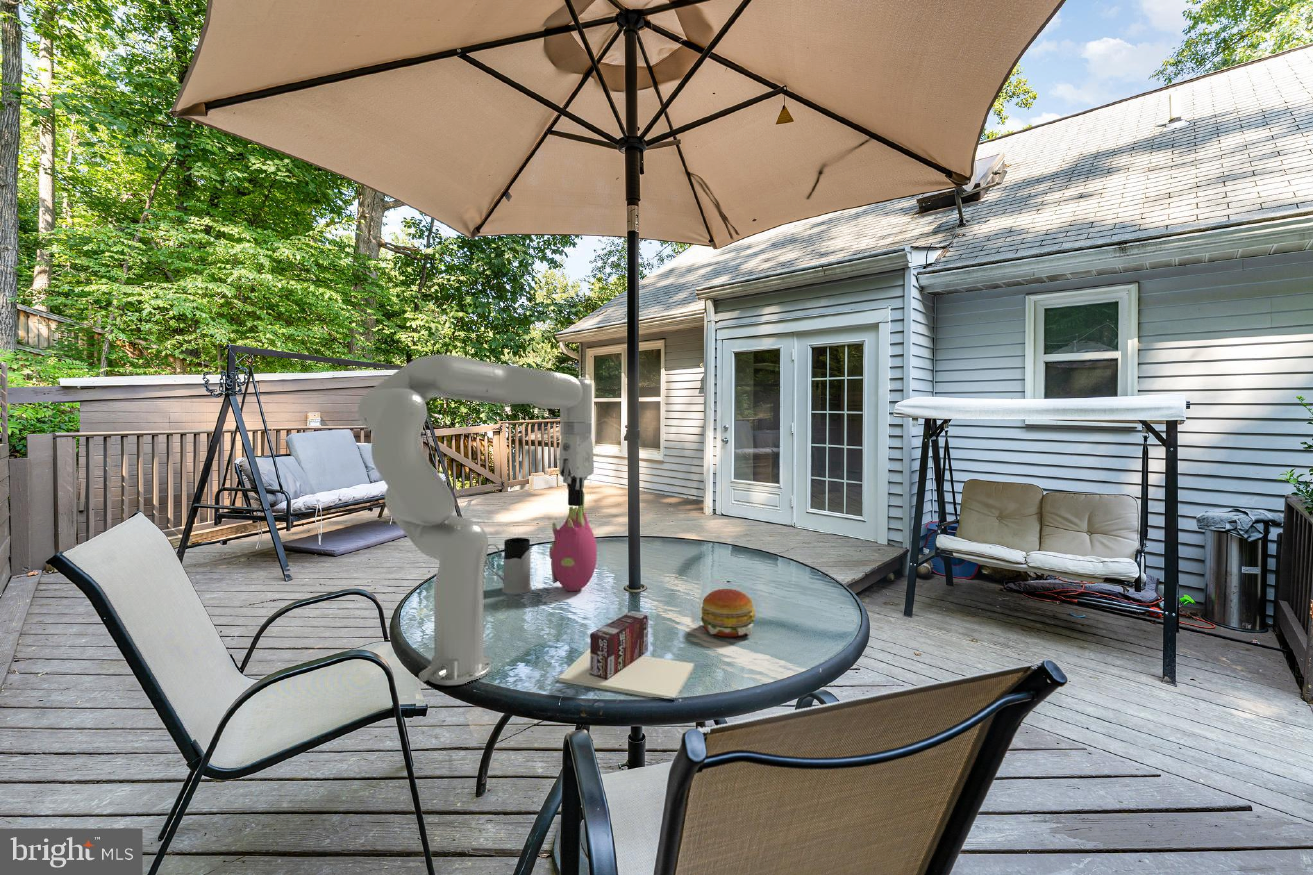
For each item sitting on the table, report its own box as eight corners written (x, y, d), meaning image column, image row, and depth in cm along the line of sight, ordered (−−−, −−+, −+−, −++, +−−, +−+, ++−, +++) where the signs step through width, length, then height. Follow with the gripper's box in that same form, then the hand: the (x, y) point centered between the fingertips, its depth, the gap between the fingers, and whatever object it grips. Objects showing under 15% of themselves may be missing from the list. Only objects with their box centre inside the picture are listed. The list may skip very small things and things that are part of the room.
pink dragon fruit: (561, 580, 180) (561, 487, 179) (602, 582, 178) (603, 488, 177) (542, 598, 162) (542, 494, 161) (588, 601, 160) (588, 496, 159)
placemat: (674, 701, 104) (674, 697, 104) (558, 681, 112) (558, 677, 112) (693, 667, 119) (694, 663, 119) (589, 651, 126) (589, 647, 126)
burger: (723, 616, 149) (724, 579, 149) (766, 631, 140) (767, 591, 139) (689, 629, 140) (690, 590, 139) (732, 646, 130) (733, 603, 130)
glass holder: (527, 594, 166) (528, 543, 165) (479, 593, 166) (479, 543, 165) (534, 585, 174) (534, 537, 174) (489, 584, 175) (489, 536, 174)
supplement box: (649, 651, 124) (607, 681, 111) (631, 646, 127) (587, 675, 113) (650, 613, 124) (607, 638, 110) (631, 609, 126) (588, 633, 113)
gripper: (575, 430, 128) (575, 511, 128) (602, 429, 142) (602, 502, 142) (546, 430, 130) (546, 509, 131) (576, 429, 144) (575, 500, 145)
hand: (575, 505), depth 137 cm, fingers closed
